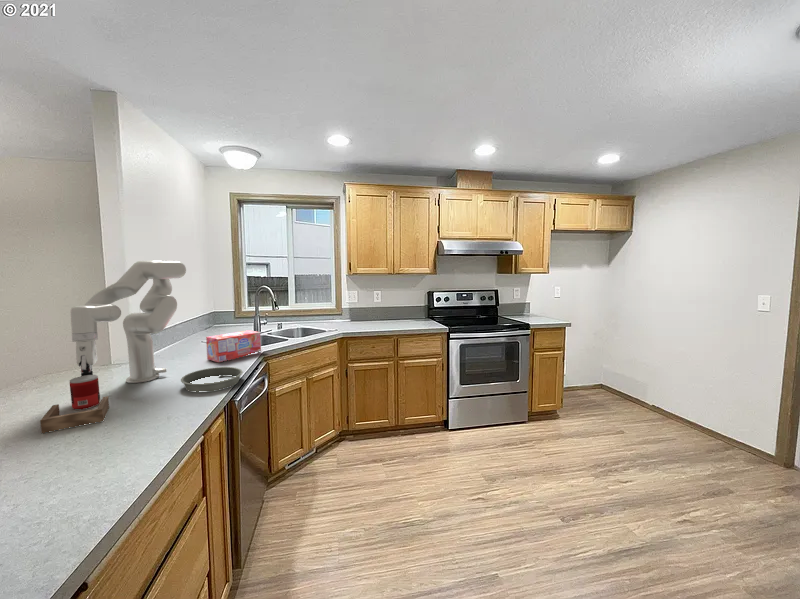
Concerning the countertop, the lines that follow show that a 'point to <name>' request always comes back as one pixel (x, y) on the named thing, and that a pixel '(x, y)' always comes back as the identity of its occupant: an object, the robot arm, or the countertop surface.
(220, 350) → the box
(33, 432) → the countertop surface
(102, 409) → the walnut holder
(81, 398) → the canned food
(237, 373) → the cake pan
